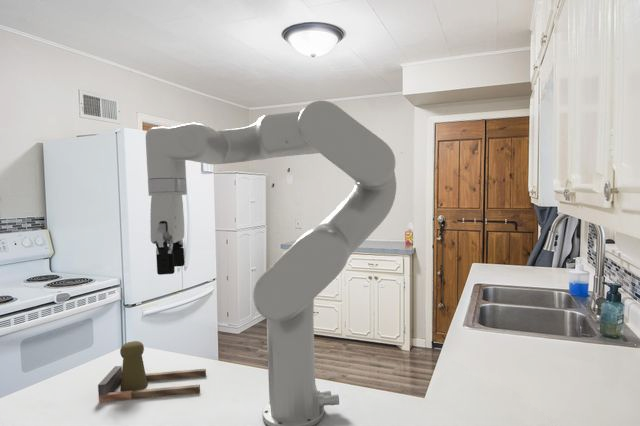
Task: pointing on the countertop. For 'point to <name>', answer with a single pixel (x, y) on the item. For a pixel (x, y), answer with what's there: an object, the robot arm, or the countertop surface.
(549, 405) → the countertop surface
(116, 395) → the guide channel
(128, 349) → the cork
